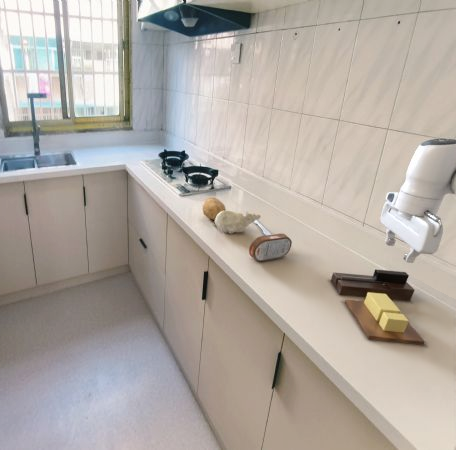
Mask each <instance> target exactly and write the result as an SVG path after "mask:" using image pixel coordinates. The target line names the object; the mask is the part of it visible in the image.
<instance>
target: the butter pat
mask: <svg viewBox="0 0 456 450" xmlns="http://www.w3.org/2000/svg"><path fill="white" fill-rule="evenodd" d="M408 322H409V323H410V320H409V319H408V318H407V317H406V316H405V314H404V313H401V314H397V313H387V312H383V314H382V317H381V319H380V322H379V325H380V326H381V327H382V329H383V330H384V331H393V332H403V333H404V331H405V329H406V327H407V324H408Z"/></svg>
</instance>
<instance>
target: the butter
mask: <svg viewBox="0 0 456 450" xmlns="http://www.w3.org/2000/svg"><path fill="white" fill-rule="evenodd" d="M364 301H365V302H364V304H365V305H366V307H367V308H368V310H369V311H370V312H371V314H372V315H373V316H374V318H375V319H376V320H377V321H380V319H381V317H382V314H383V312H387V313H397V314H400V313H401V310H400V308H399V307H398V305H396V304H395V303H394V301H393V300H391V299H390V298H389V297H388V296H387V295H386V294H380V293H370V292H368V293H367V296H366V297H365V299H364Z"/></svg>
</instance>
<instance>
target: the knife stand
mask: <svg viewBox="0 0 456 450" xmlns="http://www.w3.org/2000/svg"><path fill="white" fill-rule="evenodd" d="M342 276H349V277H360V278H371V279H373V278H372V277H373V275H367V274H357V273H355V274H354V273H346V272H336V271H335V272H332V275H331V279H330V282H331V285H333V287H334V288H335V290H336V291H337V294H339V295H340V296H349V297H359V298H361V297H362V298H366V296H367V293H368V292H370V293H380V294H386V295H387V296H388V297H389V298H390V299H391V301H400V302H401V301H403V302H411V300H412V298H413V295H414V293H415V289H414V287H412V286H411V284H410V283H409V282H408V281H407V282H406V284H400V283H389V282H383V283H382V284H379V283H368V282H357V281H346V280H341V277H342Z"/></svg>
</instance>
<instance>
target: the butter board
mask: <svg viewBox="0 0 456 450" xmlns="http://www.w3.org/2000/svg"><path fill="white" fill-rule="evenodd" d="M364 302H365V300H355V299H354V300H353V299H345V300H344V304H345V305H346V307H347V309H348V310H349V312H350V313H351V315H352V317H353V318H354V319H355V321H356V323H357V325H358V326H359V328H360V329H361V330H362V332H363V333H364V335H365V337H366V338H367V340H373V341H383V342H392V343H401V344H410V345H420V346H424V345H425V342H426V341H425V340H424V338H422V336H421V335H420V334H419V333H418V332H417V331H416V329H415V328H414V327H413V326H412V324H411V323H410V321H409V322H408V324H407V327H406V329H405V331H404V333H403V332H393V331H384V330H383V329H382V327H381V326H380V325H379V322H380V321H377V320H376V319H375V318H374V316H373V315H372V314H371V312H370V311H369V310H368V308H367V307H366V305H365V304H364ZM400 314H402V313H401V312H400Z"/></svg>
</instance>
